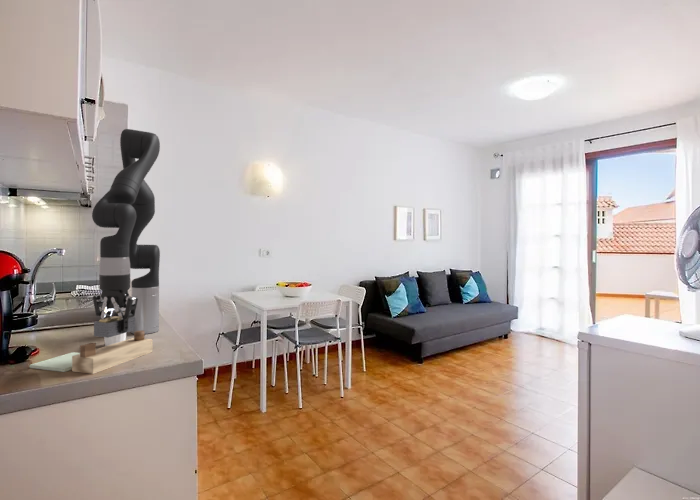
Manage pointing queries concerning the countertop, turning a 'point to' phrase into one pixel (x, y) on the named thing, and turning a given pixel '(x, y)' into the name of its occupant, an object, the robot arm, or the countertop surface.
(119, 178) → the robot arm
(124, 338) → the white cup
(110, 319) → the dark gray block
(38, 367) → the mat
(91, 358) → the body
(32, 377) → the countertop surface
